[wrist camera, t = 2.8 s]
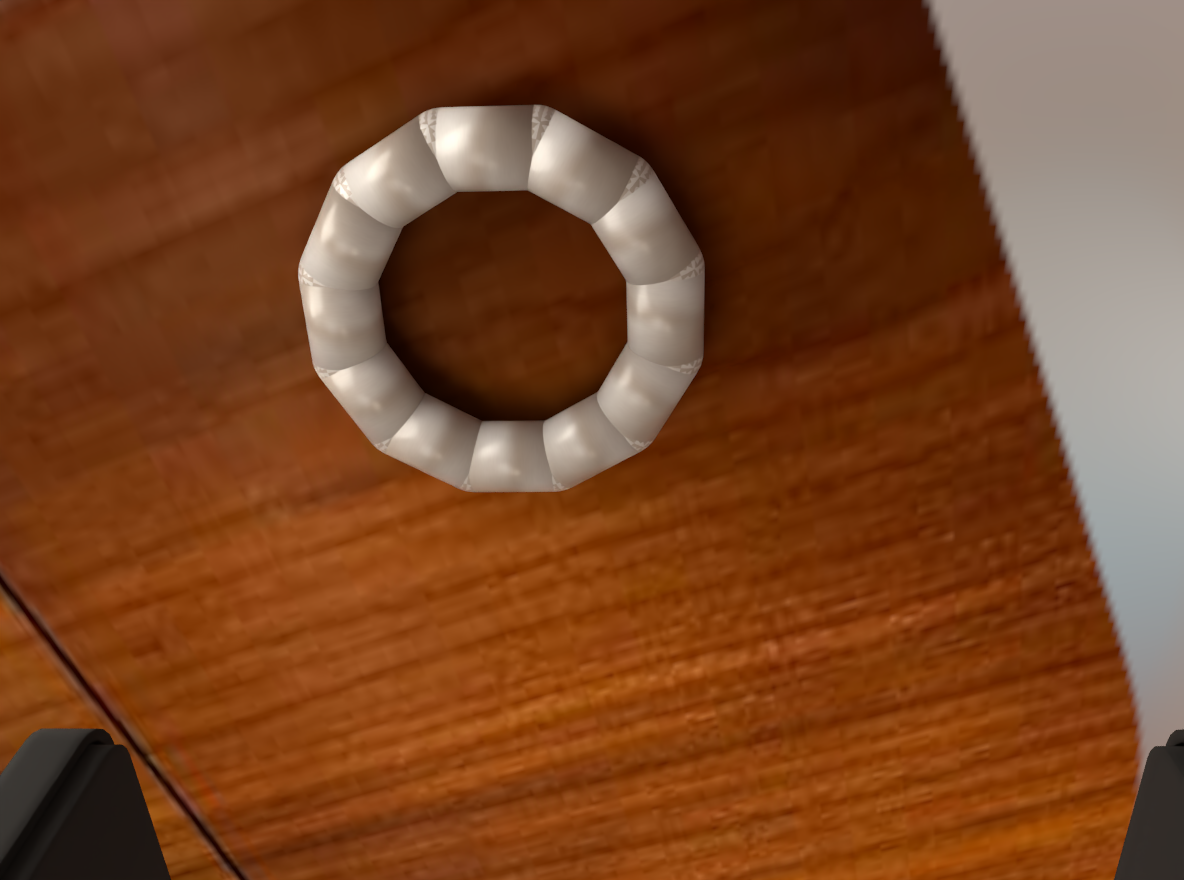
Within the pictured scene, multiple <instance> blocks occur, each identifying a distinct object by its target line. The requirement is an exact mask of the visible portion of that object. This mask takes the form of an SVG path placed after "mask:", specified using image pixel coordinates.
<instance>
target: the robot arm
mask: <svg viewBox="0 0 1184 880" xmlns="http://www.w3.org/2000/svg"><path fill="white" fill-rule="evenodd" d="M0 880H171V878H170V875H169V872H168V869H167V866H166V863H165V860H164V857H163V854H162V851H161V848H160V845H159V842H158V839H157V836H156V833H155V830H154V827H153V824H152V821H151V818H150V814H149V811H148V808H147V805H146V802H145V799H144V796H143V793H142V790H141V787H140V784H139V781H138V778H137V775H136V772H135V769H134V766H133V763H132V760H131V757H130V754H129V752H128V750H127V748H125V747H124V746H123V745H114V742H113V740H112V738H111V736H110V734H109V733H107V732H106V731H105V730H104V729H40V730H38V731H36V732H34V733H32V734H31V735H30V736H29V738H28V739H27V740H26V741H25V742H24V743H23V745H22V746H21V747H20V749H19V750H18V752H17V753H16V754H15V756H14V757H13V758H12V760H11V761H10V763H9V764H8V765H7V767H6V768H5V769H4V771H3V772H2V774H1V775H0ZM1114 880H1184V730H1176V731H1174V732H1173V733H1172V734H1171V735H1170V737H1169V739H1168V741H1167V744H1166V746H1158V747H1157V746H1156V747H1154V748H1153V749H1152V750H1151V751H1150V753H1149V756H1148V758H1147V762H1146V765H1145V769H1144V773H1143V776H1142V780H1141V784H1140V787H1139V791H1138V795H1137V798H1136V802H1135V805H1134V809H1133V813H1132V816H1131V820H1130V824H1129V827H1128V831H1127V835H1126V838H1125V842H1124V846H1123V849H1122V853H1121V856H1120V860H1119V864H1118V867H1117V871H1116V875H1115V878H1114Z"/></svg>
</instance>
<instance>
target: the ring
mask: <svg viewBox="0 0 1184 880" xmlns="http://www.w3.org/2000/svg"><path fill="white" fill-rule="evenodd" d="M516 190H528V191H530V192H532V193H534V194H535V195H537V196H539V197H541V198H543V199H545V200H547V201H549V202H550V203H552V204H554V205H556V206H558V207H560V208H562V209H563V210H565V211H567V212H569V213H571V214H573V215H575V216H576V217H578V218H580V219H582V220H584V221H586V222H588V223H590V224H591V225H592V227H593V229H594V230H595V232H596V233H597V235H598V236H599V238H600V240H601V241H602V243H603V244H604V246H605V248H606V249H607V251H608V252H609V254H610V256H611V257H612V259H613V260H614V262H615V263H616V265H617V267H618V268H619V270H620V271H621V273H622V275H623V276H624V278H625V279H626V286H627V331H628V342H627V344H626V345H625V347H624V349H623V350H622V352H621V354H620V355H619V357H618V359H617V361H616V362H615V364H614V366H613V367H612V369H611V371H610V372H609V374H608V376H607V377H606V379H605V381H604V383H603V384H602V386H601V388H600V389H599V391H598V392H597V393H595V394H593V395H591V396H589V397H587V398H586V399H584V400H582V401H580V402H578V403H576V404H575V405H573V406H571V407H569V408H567V409H566V410H564V411H562V412H560V413H558V414H556V415H555V416H553V417H551V418H549V419H547V420H545V421H481V420H479V419H477V418H475V417H473V416H471V415H469V414H467V413H465V412H463V411H461V410H459V409H457V408H455V407H453V406H451V405H449V404H447V403H445V402H443V401H441V400H439V399H437V398H434V397H432V396H430V395H428V394H426V393H424V391H423V390H422V389H421V387H420V386H419V385H418V383H417V382H416V381H415V379H414V378H413V377H412V375H411V374H410V373H409V371H408V370H407V369H406V367H405V366H404V365H403V363H402V362H401V361H400V359H399V358H398V357H397V355H396V354H395V353H394V351H393V350H392V349H391V347H390V346H389V345H388V343H387V342H386V336H385V328H384V321H383V313H382V306H381V298H380V291H379V283H378V281H379V279H380V277H381V274H382V272H383V270H384V268H385V266H386V263H387V261H388V259H389V257H390V255H391V252H392V250H393V248H394V246H395V244H396V241H397V239H398V237H399V235H400V233H401V230H402V228H403V226H405V225H407V224H408V223H410V222H411V221H413V220H414V219H416V218H417V217H419V216H421V215H422V214H424V213H425V212H427V211H428V210H430V209H432V208H433V207H435V206H436V205H438V204H439V203H441V202H442V201H444V200H446V199H447V198H449V197H450V196H452V195H453V194H455V193H457V192H473V191H516ZM298 278H299V285H300V291H301V297H302V302H303V308H304V314H305V320H306V326H307V332H308V338H309V344H310V349H311V355H312V361H313V365H314V368H315V370H316V372H317V374H318V376H319V377H320V379H321V380H322V381H323V382H324V384H325V385H326V386H327V387H328V389H329V390H330V391H331V392H332V394H333V395H334V396H335V397H336V399H337V400H338V401H339V403H340V404H341V405H342V406H343V408H344V409H345V410H346V411H347V413H348V414H349V415H350V416H351V418H352V419H353V420H354V421H355V423H356V424H357V425H358V427H359V428H360V429H361V430H362V432H363V433H364V434H365V435H366V437H367V438H368V439H369V440H370V442H371V443H372V444H373V445H374V446H375V447H376V448H377V449H378V450H380V451H381V452H383V453H385V454H387V455H389V456H391V457H393V458H395V459H398V460H400V461H402V462H404V463H406V464H408V465H410V466H412V467H414V468H416V469H419V470H421V471H423V472H425V473H427V474H429V475H431V476H433V477H435V478H438V479H440V480H442V481H444V482H446V483H448V484H450V485H452V486H454V487H456V488H459V489H461V490H464V491H468V492H558V491H563V490H567V489H569V488H572V487H574V486H575V485H577V484H579V483H581V482H583V481H585V480H587V479H589V478H591V477H593V476H595V475H597V474H598V473H600V472H602V471H604V470H606V469H608V468H610V467H612V466H614V465H616V464H618V463H620V462H621V461H623V460H625V459H627V458H629V457H631V456H633V455H635V454H637V453H639V452H641V451H642V450H644V449H645V448H647V447H648V446H649V445H650V444H651V443H652V442H653V440H654V439H655V438H656V436H657V435H658V433H659V432H660V430H661V428H662V427H663V425H664V424H665V422H666V421H667V419H668V417H669V416H670V414H671V413H672V411H673V410H674V408H675V406H676V405H677V403H678V402H679V400H680V399H681V397H682V395H683V394H684V392H685V391H686V389H687V388H688V386H689V384H690V383H691V381H692V380H693V378H694V377H695V375H696V373H697V372H698V370H699V368H700V366H701V363H702V360H703V353H704V285H705V265H704V259H703V255H702V253H701V251H700V249H699V246H698V245H697V243H696V241H695V240H694V238H693V236H692V235H691V233H690V231H689V230H688V228H687V226H686V225H685V223H684V221H683V219H682V218H681V216H680V214H679V213H678V211H677V209H676V208H675V206H674V204H673V203H672V201H671V199H670V198H669V196H668V194H667V192H666V191H665V189H664V187H663V186H662V184H661V182H660V181H659V179H658V177H657V176H656V174H655V172H654V170H653V169H652V168H651V166H650V165H649V164H648V163H647V162H646V161H645V160H644V159H643V158H641V157H640V156H638V155H636V154H634V153H633V152H631V151H629V150H627V149H625V148H624V147H622V146H620V145H618V144H616V143H615V142H613V141H611V140H609V139H607V138H605V137H604V136H602V135H600V134H598V133H596V132H595V131H593V130H591V129H589V128H587V127H586V126H584V125H582V124H580V123H578V122H577V121H575V120H573V119H571V118H569V117H568V116H566V115H564V114H562V113H560V112H559V111H557V110H555V109H553V108H551V107H548V106H544V105H506V106H471V107H440V108H433V109H430V110H427V111H425V112H423V113H422V114H420V115H418V116H417V117H415V118H414V119H412V120H411V121H409V122H408V123H406V124H405V125H403V126H402V127H401V128H399V129H398V130H396V131H395V132H393V133H392V134H390V135H389V136H387V137H386V138H384V139H383V140H381V141H380V142H378V143H377V144H375V145H374V146H372V147H371V148H369V149H368V150H366V151H365V152H363V153H362V154H360V155H359V156H358V157H356V158H355V159H353V160H352V161H350V162H349V163H347V164H346V165H345V166H343V167H342V168H341V169H340V171H339V172H338V173H337V175H336V176H335V178H334V180H333V182H332V184H331V187H330V189H329V192H328V194H327V196H326V199H325V201H324V204H323V206H322V209H321V211H320V213H319V216H318V218H317V221H316V223H315V226H314V228H313V230H312V233H311V235H310V238H309V240H308V243H307V245H306V247H305V250H304V252H303V255H302V257H301V260H300V263H299V269H298Z"/></svg>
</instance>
